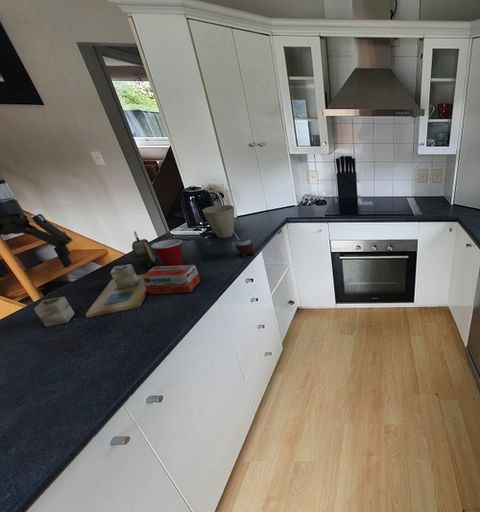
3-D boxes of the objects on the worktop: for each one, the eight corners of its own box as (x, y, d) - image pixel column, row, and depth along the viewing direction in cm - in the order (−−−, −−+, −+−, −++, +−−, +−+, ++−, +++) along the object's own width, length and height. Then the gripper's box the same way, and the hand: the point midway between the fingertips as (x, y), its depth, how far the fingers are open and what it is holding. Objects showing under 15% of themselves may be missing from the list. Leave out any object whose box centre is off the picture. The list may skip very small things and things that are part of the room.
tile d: (45, 326, 85) (33, 308, 82) (54, 317, 89) (42, 299, 86) (67, 322, 87) (56, 304, 84) (74, 313, 91) (64, 296, 88)
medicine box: (201, 281, 111) (195, 264, 107) (191, 292, 103) (185, 274, 100) (160, 283, 109) (153, 266, 105) (147, 295, 101) (139, 276, 98)
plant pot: (245, 232, 158) (239, 206, 151) (225, 242, 146) (217, 213, 139) (225, 229, 162) (218, 203, 155) (203, 238, 150) (195, 210, 143)
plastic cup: (193, 260, 127) (185, 236, 121) (184, 271, 117) (175, 246, 112) (166, 262, 124) (157, 238, 119) (155, 274, 115) (144, 248, 110)
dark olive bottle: (154, 268, 119) (140, 234, 112) (139, 271, 117) (123, 237, 109) (157, 259, 127) (144, 226, 120) (142, 261, 125) (128, 228, 118)
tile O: (117, 288, 102) (109, 271, 99) (122, 282, 106) (114, 265, 103) (134, 285, 104) (127, 269, 101) (138, 279, 108) (131, 263, 105)
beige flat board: (87, 317, 90) (84, 313, 89) (113, 282, 109) (111, 279, 108) (140, 306, 95) (138, 303, 94) (156, 275, 114) (154, 271, 114)
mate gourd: (256, 252, 136) (250, 223, 129) (249, 259, 129) (242, 229, 122) (242, 251, 136) (235, 223, 129) (233, 258, 129) (226, 229, 122)
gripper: (-96, 210, 64) (-36, 285, 74) (51, 199, 75) (87, 267, 84) (-69, 202, 70) (-16, 273, 80) (64, 193, 80) (97, 257, 90)
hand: (37, 270), depth 82 cm, fingers open, 13 cm apart
